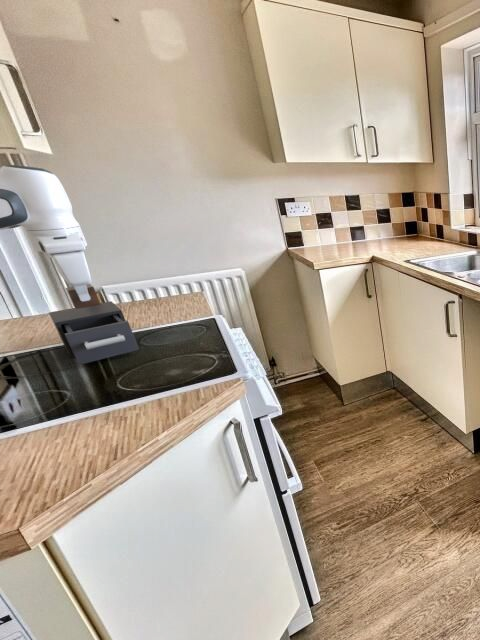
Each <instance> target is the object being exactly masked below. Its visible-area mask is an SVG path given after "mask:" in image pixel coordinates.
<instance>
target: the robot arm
mask: <svg viewBox="0 0 480 640" xmlns="http://www.w3.org/2000/svg"><path fill="white" fill-rule="evenodd" d="M19 227H23V228H24V230H25V232H26V234H27V236H28V239H29V241H30V243H31V245H32V248H33V250H34V251H35V252H38V253H43V254H44V256H45V258H46V259H52V261H53V263H54V265H55V267H56V270H57V272H58V274H59V275H60V276H61V278H63V279H64V281H65V282H66V283H67V284H68V285H69V286H70V287H74V289H75V290H76V292H77V294H78V297H79V299H80V300H81V301H89V300H90V299H91V298H90V296H89V294H88V289H87V286H86V285H88V284H91V285H92V276H91V271H90V268H89V265H88V262H87V258H86V255H85V252H84V251H86V250H87V249H86V248H87V247H88V242H87V239H86V237H85V235H84V233H83V230H82V228H81V224H80V223H79V222H78V221H77V220H76V218H75V216H74V212H73V205H72V203H71V200H70V198H69V196H68V194H67V192H66V190H65V188H64V186H63V184H62V182H61V180H60V179H59V178H58V176H56V174H54V173H53V172H51V171H49V170H47V169H45V168H41V167H34V166H28V165H27V166H26V165H16V164H6V165H2V166H1V167H0V231H2V230H7V229H15V228H19Z"/></svg>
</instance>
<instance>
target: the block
mask: <svg viewBox="0 0 480 640" xmlns="http://www.w3.org/2000/svg"><path fill="white" fill-rule="evenodd" d="M86 286H87V289H88V294H89V296H90V298H91V299H90V300H89V301H81V300H80V299H79V297H78V294H77V292H76V290H75V289H74V287H71V286H70V287H65V292H66V293H67V295H68V298H69V300H70V302H71V304H72V307H73V308H75V309H79V308H84V307H90V306H95V305H100V301H99V299H98V297H97V294H96V292H97V291H96V289H95V287H94V286H93V285H92V283H91V284H88V285H86Z"/></svg>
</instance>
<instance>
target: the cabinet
mask: <svg viewBox="0 0 480 640" xmlns="http://www.w3.org/2000/svg"><path fill="white" fill-rule="evenodd" d="M48 314H49V316H50V318H51V321H52V322H53V325H54V327H55V330H56V331H57V334H58V336H59V338H60V340H61V342H62V344H63V347H64V348H65V350H66V352H67V354H68V355H69V357H70V359H74V358H75V355H74V353H73V351H72V349H71V347H70V344H69V342H68V340H67V338H66V336H65V333H67V332H66V329H65V327H64V325H63V324H68V323H73V322H78V321H83V320H88V319H93V318H98V317H103V316H108V315H113V314H116V315H117V316H118V317H119V318H120V319H121V320H122V321H127V320H126V319H125V315H124V313H123V310H122V309H121V308H120V307H118V306H117V305H116V304H115V303H114V302H113V301H105V302H102V303H100V305H95V306H90V307H84V308H79V309H75V307H71V308H66V309H59V310H54V311H50V312H48ZM75 359H76V358H75Z"/></svg>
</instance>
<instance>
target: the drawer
mask: <svg viewBox="0 0 480 640" xmlns="http://www.w3.org/2000/svg"><path fill="white" fill-rule="evenodd" d="M63 325H64V327H65V329H66V332H67V333H65V336H66V338H67V340H68V342H69V344H70V347H71V349H72V351H73V353H74V355H75V360H76V362H77V364H78V365H79V366H81V365H84V364H89V363H92V362H96V361H100V360H104V359H108V358H113V357H116V356H117V357H118V356H120V355H123V354H128V353H132V352H137V351H139V350H140V347H139V345H138V342H137V341H136V337H135V335H134V332H133V330H132V328H131V324H130V322H129V321H128V320H126V321H122V320H121V319H120V318H119V317H118V316H117V315H116V314H113V315H108V316H103V317H98V318H93V319H88V320H83V321H78V322H73V323H68V324H63Z"/></svg>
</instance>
